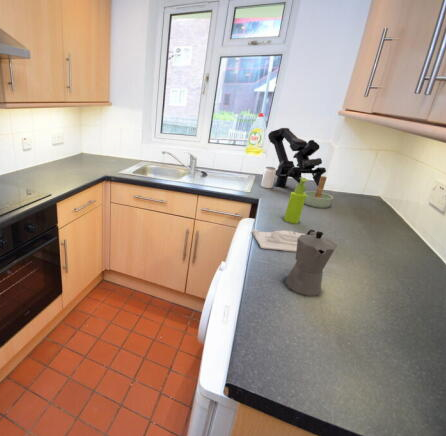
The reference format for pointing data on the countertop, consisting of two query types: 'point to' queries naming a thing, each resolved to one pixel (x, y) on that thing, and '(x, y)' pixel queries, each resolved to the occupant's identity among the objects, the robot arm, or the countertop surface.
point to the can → (268, 177)
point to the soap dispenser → (296, 203)
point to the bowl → (318, 200)
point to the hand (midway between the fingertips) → (310, 185)
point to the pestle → (320, 187)
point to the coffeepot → (310, 263)
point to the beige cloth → (277, 240)
